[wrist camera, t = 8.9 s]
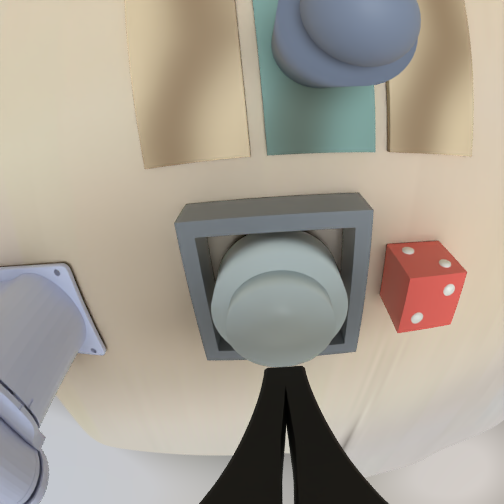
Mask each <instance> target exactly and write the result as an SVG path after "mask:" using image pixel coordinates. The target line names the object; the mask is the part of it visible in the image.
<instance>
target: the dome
mask: <svg viewBox="0 0 504 504" xmlns="http://www.w3.org/2000/svg"><path fill="white" fill-rule="evenodd" d="M347 311H348V298H347V293H346V290H345V287H344V284H343V281H342V279H341V276H340V273H339V271H338V268H337V265H336V262H335V260H334V258H333V256H332V254H331V252H330V251H329V250H328V248H327V247H326V246H325V245H324V244H323V243H322V242H321V241H320V240H318V239H317V238H316V237H314V236H312V235H310V234H308V233H306V232H303V231H286V232H270V233H255V234H248V235H246V236H245V237H243V238H241V239H240V240H239V241H237V242H236V243H235V244H234V245H233V246H232V247H231V248H230V249H229V250H228V251H227V253H226V254H225V256H224V258H223V259H222V262H221V264H220V267H219V271H218V276H217V280H216V285H215V289H214V293H213V298H212V303H211V314H212V319H213V322H214V325H215V327H216V329H217V331H218V332H219V334H220V335H221V336H222V337H223V338H224V340H225V341H226V342H228V343H229V344H230V345H231V346H232V347H233V349H234V350H235V351H236V352H237V353H238V354H239V355H241V356H242V357H244V358H245V359H247V360H249V361H251V362H253V363H256V364H259V365H263V366H269V367H288V366H293V365H298V364H301V363H304V362H306V361H309V360H311V359H313V358H314V357H316V356H317V355H319V354H320V353H321V352H322V351H324V350H325V348H326V347H327V346H328V345H329V344H330V342H331V340H332V339H333V338H334V336H335V335H336V334H337V333H338V332H339V330H340V329H341V327H342V325H343V323H344V321H345V318H346V316H347Z"/></svg>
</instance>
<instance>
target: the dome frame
mask: <svg viewBox="0 0 504 504" xmlns="http://www.w3.org/2000/svg"><path fill="white" fill-rule="evenodd" d="M174 224H175V229H176V234H177V239H178V243H179V248H180V253H181V257H182V262H183V266H184V270H185V275H186V279H187V283H188V287H189V292H190V296H191V300H192V304H193V308H194V312H195V316H196V320H197V324H198V327H199V331H200V335H201V339H202V342H203V346H204V350H205V353H206V357H207V360H247V359H245V358H244V357H242V356H241V355H239V354H238V353H237V352H236V351H235V350H234V349H233V347H232V346H231V345H230V344H229V343H228V342H226V341H225V340H224V338H223V337H222V336H221V335H220V334H219V332H218V331H217V329H216V327H215V325H214V322H213V319H212V314H211V303H212V298H213V293H214V289H215V281H214V275H213V270H212V264H211V258H210V253H209V247H208V241H207V237H212V236H226V235H241V234H255V233H270V232H286V231H302V230H319V229H336V228H343V241H342V260H341V279H342V281H343V284H344V287H345V290H346V293H347V298H348V311H347V316H346V318H345V321H344V323H343V325H342V327H341V329H340V330H339V332H338V333H337V334H336V335H335V336H334V338H333V339H332V340H331V342H330V344H329V345H328V346H327V347H326V348H325V350H324V351H322V352H321V353H320V354H319V355H329V354H339V353H348V352H356V348H357V343H358V337H359V331H360V325H361V319H362V313H363V306H364V299H365V292H366V284H367V276H368V267H369V258H370V248H371V237H372V224H373V209H372V208H371V206H370V205H369V204H368V203H367V202H366V201H365V199H364V198H363V197H362V196H361V195H360V194H359V193H340V194H317V195H298V196H281V197H266V198H252V199H239V200H227V201H215V202H204V203H194V204H186V205H185V207H184V208H183V210H182V211H181V213H180V215H179V216H178V218H177V219H176V221H175V223H174ZM317 356H318V355H317Z"/></svg>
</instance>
